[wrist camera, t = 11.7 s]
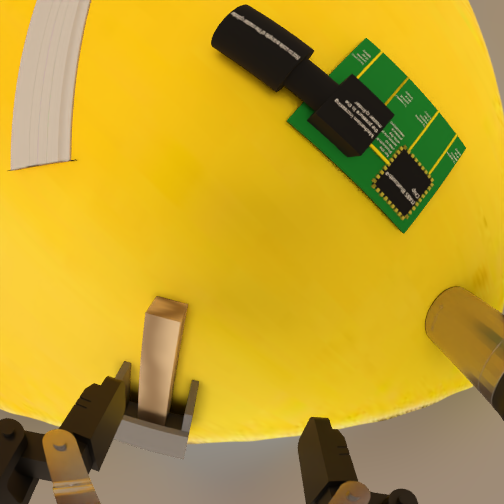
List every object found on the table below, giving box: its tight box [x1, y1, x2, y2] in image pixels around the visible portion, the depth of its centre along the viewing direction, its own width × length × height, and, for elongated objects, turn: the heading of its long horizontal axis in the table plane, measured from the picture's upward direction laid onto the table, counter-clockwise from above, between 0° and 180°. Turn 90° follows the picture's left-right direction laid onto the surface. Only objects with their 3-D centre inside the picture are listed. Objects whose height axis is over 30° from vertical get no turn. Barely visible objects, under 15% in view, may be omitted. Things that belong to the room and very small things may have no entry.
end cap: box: [113, 361, 199, 459], centre depth 36 cm, size 11×9×8 cm
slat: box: [138, 296, 188, 426], centre depth 36 cm, size 4×18×5 cm, turn 166°
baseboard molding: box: [9, 0, 91, 171], centre depth 26 cm, size 31×3×12 cm
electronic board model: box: [211, 5, 466, 233], centre depth 27 cm, size 30×7×15 cm
